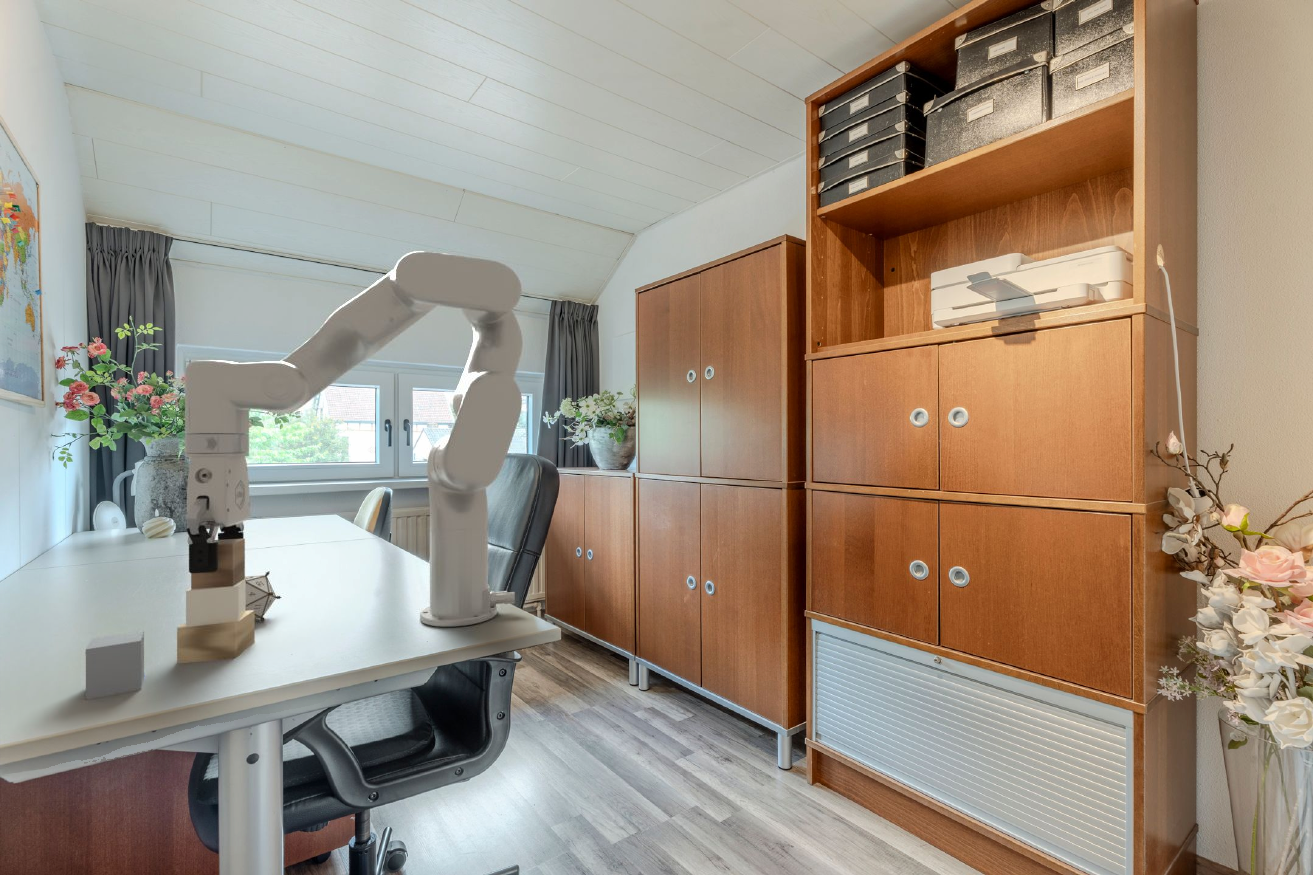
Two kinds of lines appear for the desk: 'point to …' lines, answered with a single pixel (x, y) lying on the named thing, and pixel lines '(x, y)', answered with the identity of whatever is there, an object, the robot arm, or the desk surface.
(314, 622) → the desk surface
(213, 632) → the tower base
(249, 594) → the game die
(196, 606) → the tower top
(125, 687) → the slate block
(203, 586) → the walnut block
